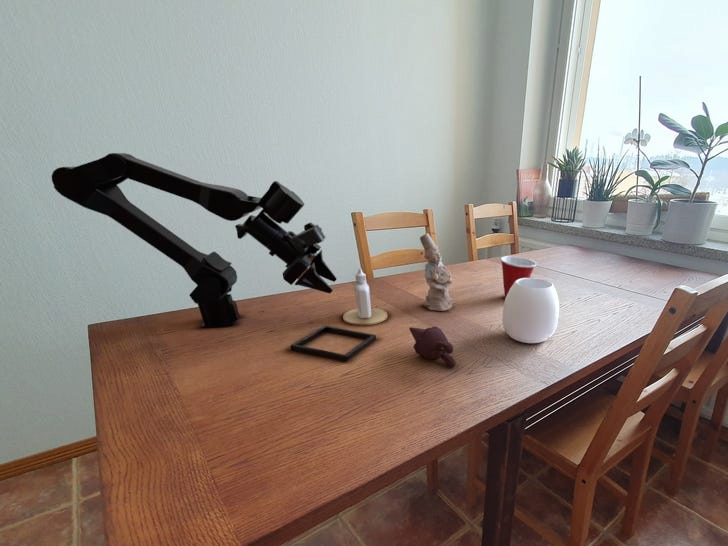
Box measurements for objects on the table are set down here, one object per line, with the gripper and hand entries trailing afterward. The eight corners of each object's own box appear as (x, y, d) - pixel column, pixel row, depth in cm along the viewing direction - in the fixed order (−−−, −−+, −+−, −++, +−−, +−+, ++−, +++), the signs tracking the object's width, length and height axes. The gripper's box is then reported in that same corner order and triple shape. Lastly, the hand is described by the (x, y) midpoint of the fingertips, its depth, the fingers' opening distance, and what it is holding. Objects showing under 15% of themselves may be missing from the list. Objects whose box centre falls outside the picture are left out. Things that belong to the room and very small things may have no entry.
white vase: (565, 337, 91) (574, 284, 85) (533, 354, 83) (541, 296, 76) (522, 321, 99) (528, 271, 93) (489, 335, 90) (493, 281, 84)
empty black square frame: (291, 350, 79) (290, 345, 78) (325, 330, 88) (325, 325, 88) (346, 361, 75) (345, 356, 75) (376, 339, 85) (375, 334, 85)
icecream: (392, 322, 78) (436, 354, 70) (420, 307, 82) (465, 336, 73) (399, 348, 83) (441, 380, 74) (426, 332, 86) (468, 362, 78)
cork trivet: (343, 326, 90) (343, 325, 90) (343, 310, 99) (342, 308, 99) (389, 323, 94) (389, 321, 93) (385, 308, 103) (385, 306, 102)
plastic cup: (534, 305, 111) (539, 265, 105) (497, 303, 111) (501, 263, 105) (530, 293, 121) (534, 256, 115) (497, 291, 120) (499, 254, 115)
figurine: (416, 304, 106) (414, 231, 97) (441, 299, 111) (441, 229, 102) (434, 314, 100) (434, 238, 91) (459, 308, 105) (461, 235, 96)
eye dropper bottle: (351, 318, 94) (345, 270, 88) (361, 310, 99) (357, 265, 93) (367, 320, 94) (363, 272, 88) (377, 312, 98) (373, 267, 93)
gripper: (289, 218, 74) (353, 273, 82) (305, 206, 90) (357, 253, 98) (254, 258, 76) (320, 308, 84) (276, 240, 92) (329, 283, 100)
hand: (333, 285), depth 91 cm, fingers open, 9 cm apart
